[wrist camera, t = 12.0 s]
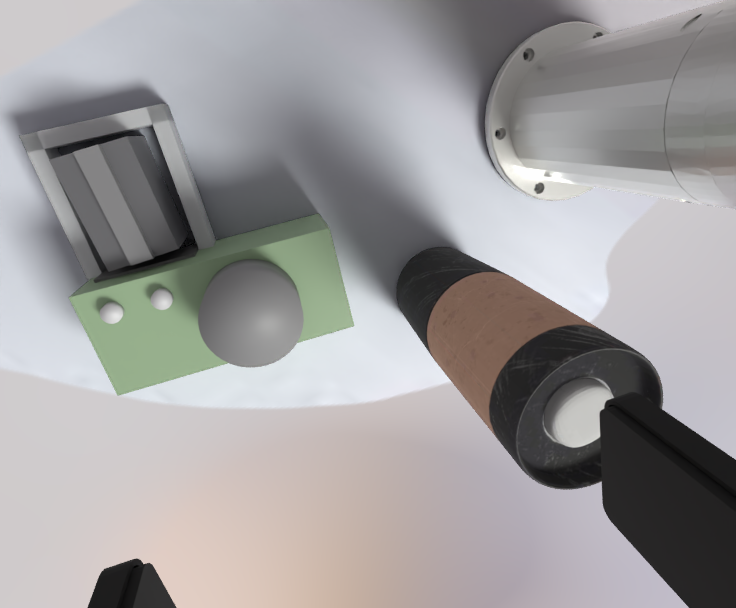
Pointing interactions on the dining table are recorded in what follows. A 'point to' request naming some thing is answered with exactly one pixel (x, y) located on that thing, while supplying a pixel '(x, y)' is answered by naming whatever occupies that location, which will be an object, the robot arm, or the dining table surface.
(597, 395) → the travel mug
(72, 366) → the dining table surface
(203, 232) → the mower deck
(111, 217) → the ridged grey block
